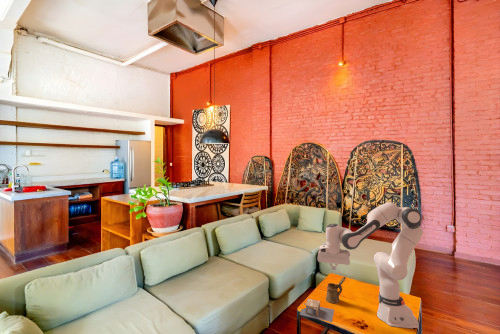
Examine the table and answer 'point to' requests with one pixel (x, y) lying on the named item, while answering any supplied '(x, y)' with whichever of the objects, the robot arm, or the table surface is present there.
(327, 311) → the mat
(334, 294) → the wooden mug
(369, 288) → the table surface
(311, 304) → the stool
